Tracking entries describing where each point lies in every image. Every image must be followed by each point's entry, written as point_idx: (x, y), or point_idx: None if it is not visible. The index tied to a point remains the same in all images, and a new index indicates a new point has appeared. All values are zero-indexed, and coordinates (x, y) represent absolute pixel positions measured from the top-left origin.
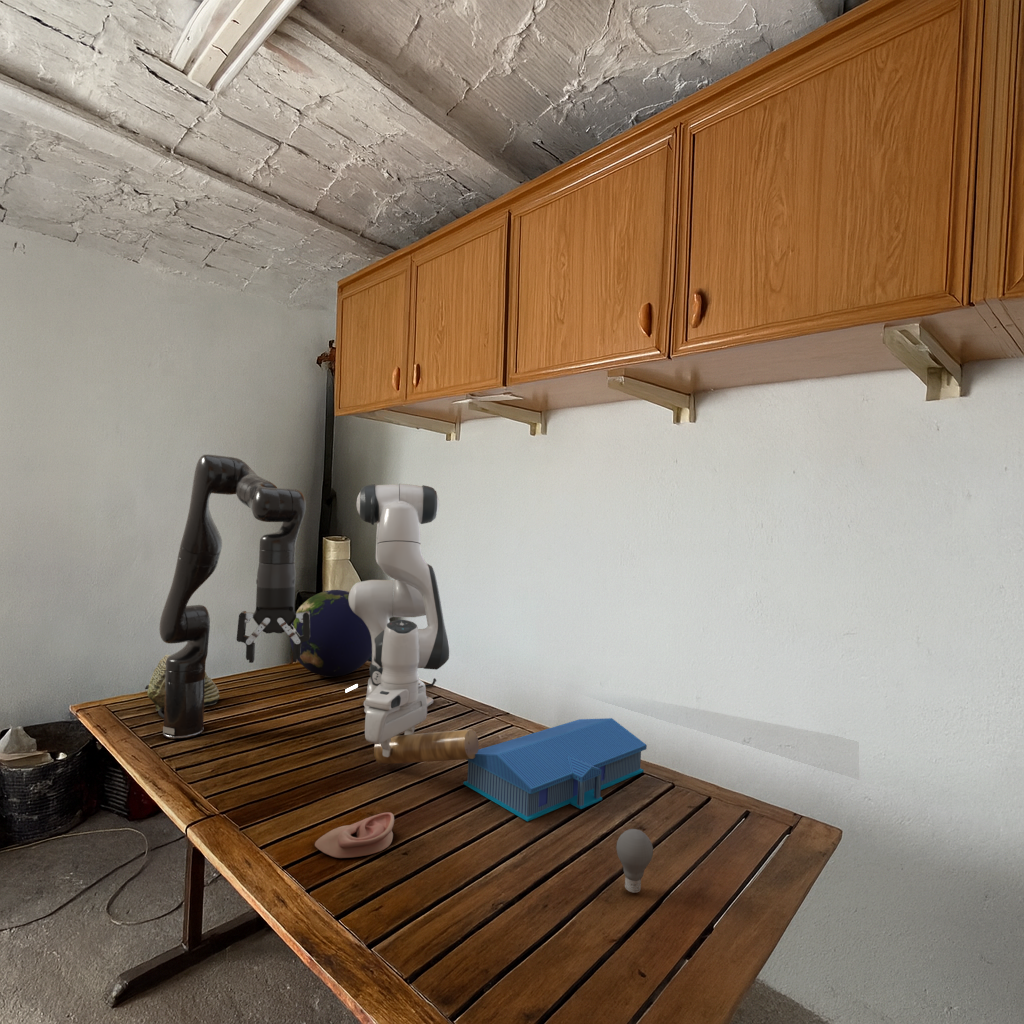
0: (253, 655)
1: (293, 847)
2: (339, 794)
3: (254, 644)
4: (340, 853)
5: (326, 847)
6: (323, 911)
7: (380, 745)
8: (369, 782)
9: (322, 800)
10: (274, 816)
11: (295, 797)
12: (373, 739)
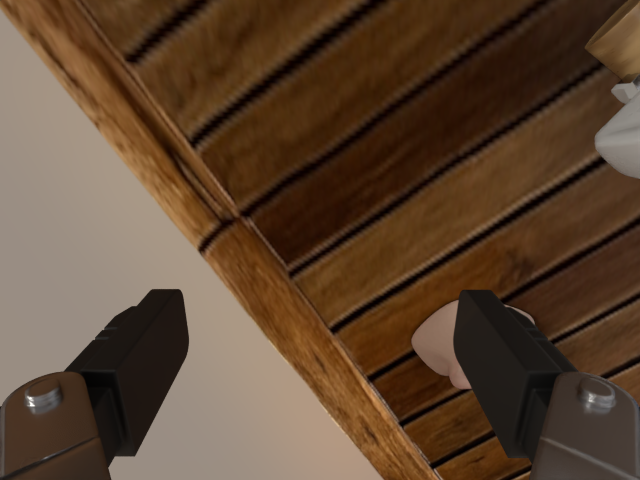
0: (169, 353)
1: (379, 336)
2: (464, 168)
3: (125, 383)
4: (447, 375)
5: (429, 361)
6: (418, 456)
7: (625, 47)
8: (537, 117)
9: (428, 190)
10: (341, 240)
11: (374, 169)
12: (615, 167)
